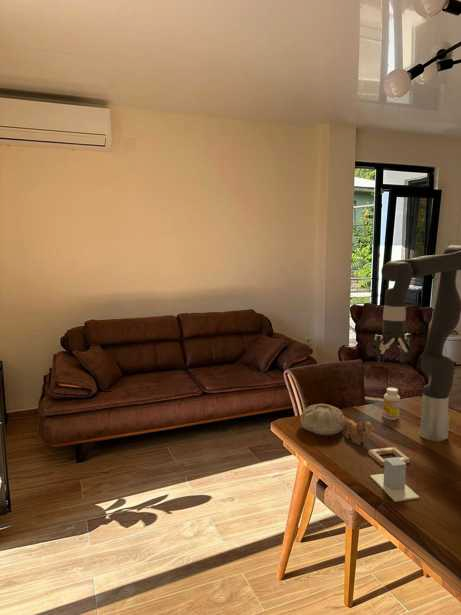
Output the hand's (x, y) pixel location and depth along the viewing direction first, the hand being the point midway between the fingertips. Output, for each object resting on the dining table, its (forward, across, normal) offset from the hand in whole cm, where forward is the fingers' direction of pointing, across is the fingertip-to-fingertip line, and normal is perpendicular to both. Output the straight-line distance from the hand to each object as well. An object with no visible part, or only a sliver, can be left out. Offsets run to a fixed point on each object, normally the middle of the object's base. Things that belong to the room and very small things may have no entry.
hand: (391, 362), depth 155 cm
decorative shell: (+33, +16, -20) cm, 42 cm away
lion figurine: (+33, +7, -10) cm, 35 cm away
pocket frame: (+33, +3, +6) cm, 34 cm away
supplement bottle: (+33, -19, -27) cm, 47 cm away
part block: (+32, +12, +23) cm, 41 cm away
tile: (+33, +12, +23) cm, 42 cm away
